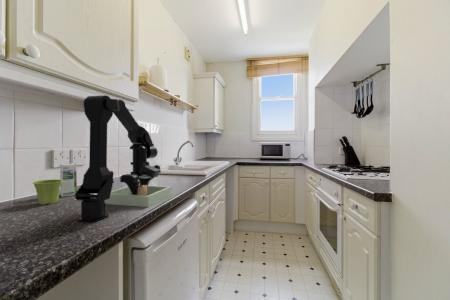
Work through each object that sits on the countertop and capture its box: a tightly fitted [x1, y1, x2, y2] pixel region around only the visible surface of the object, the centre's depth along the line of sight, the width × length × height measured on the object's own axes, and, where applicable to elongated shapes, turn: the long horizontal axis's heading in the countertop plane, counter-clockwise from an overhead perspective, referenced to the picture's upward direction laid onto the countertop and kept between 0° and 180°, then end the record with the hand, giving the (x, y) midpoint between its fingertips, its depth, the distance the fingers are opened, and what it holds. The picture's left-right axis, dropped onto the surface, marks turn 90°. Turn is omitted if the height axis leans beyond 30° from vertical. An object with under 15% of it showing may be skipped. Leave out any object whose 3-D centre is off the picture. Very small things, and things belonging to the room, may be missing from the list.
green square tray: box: [105, 185, 173, 208], centre depth 99 cm, size 20×20×4 cm
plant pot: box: [32, 179, 62, 206], centre depth 92 cm, size 9×9×9 cm
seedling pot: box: [132, 184, 148, 196], centre depth 99 cm, size 6×6×6 cm
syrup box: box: [59, 162, 78, 198], centre depth 106 cm, size 6×6×14 cm
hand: (139, 195), depth 99 cm, fingers closed on seedling pot, 6 cm apart
